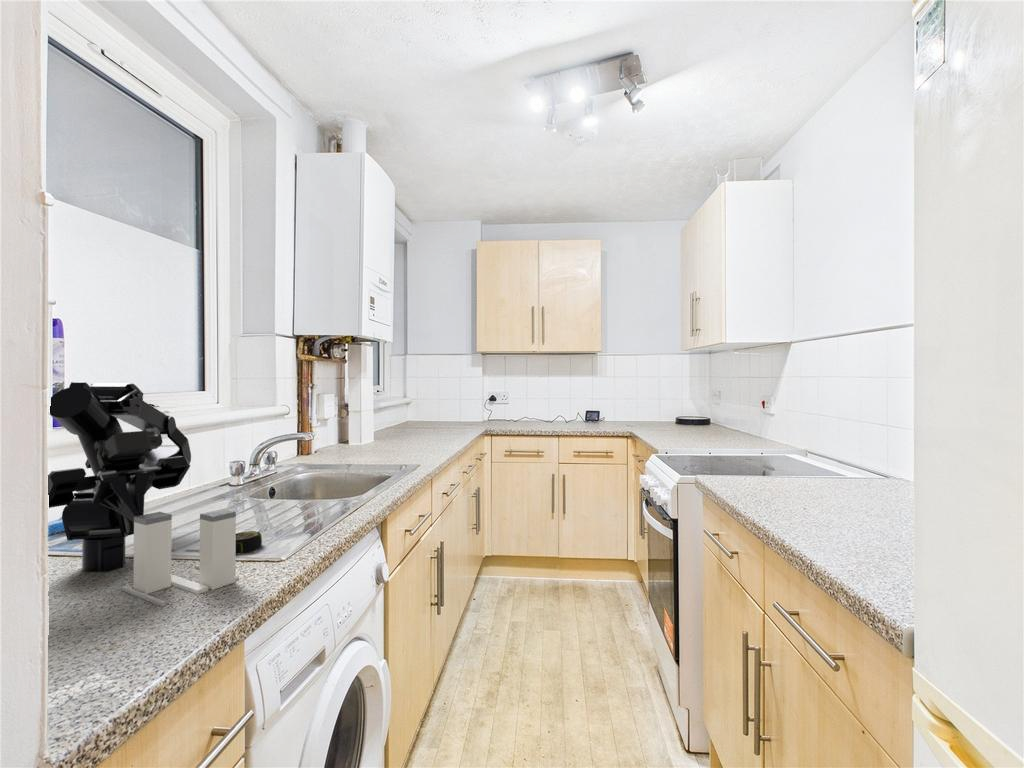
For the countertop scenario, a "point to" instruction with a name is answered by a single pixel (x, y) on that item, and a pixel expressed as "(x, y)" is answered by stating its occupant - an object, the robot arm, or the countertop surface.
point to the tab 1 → (152, 552)
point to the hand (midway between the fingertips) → (139, 521)
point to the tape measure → (248, 541)
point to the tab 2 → (217, 548)
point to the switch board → (176, 582)
